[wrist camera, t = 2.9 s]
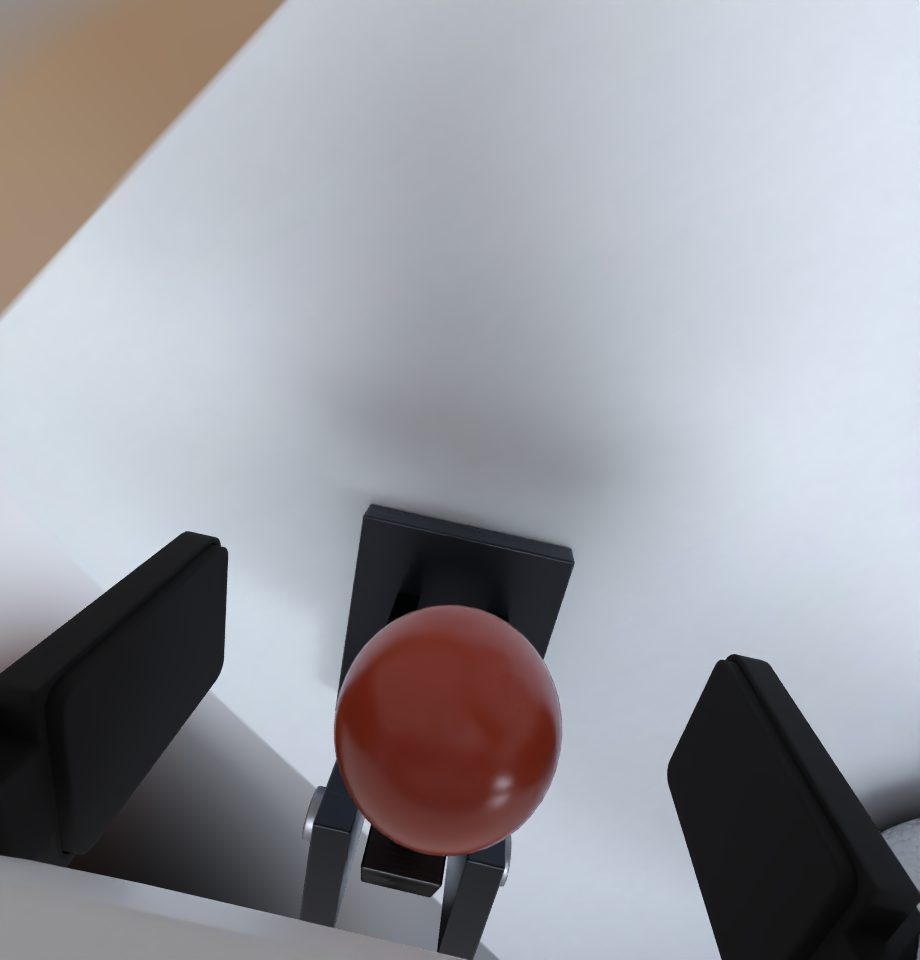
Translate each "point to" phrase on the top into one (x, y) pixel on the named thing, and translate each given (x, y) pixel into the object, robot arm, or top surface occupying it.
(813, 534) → the top surface
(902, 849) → the planter
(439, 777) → the lever
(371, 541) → the lever base
